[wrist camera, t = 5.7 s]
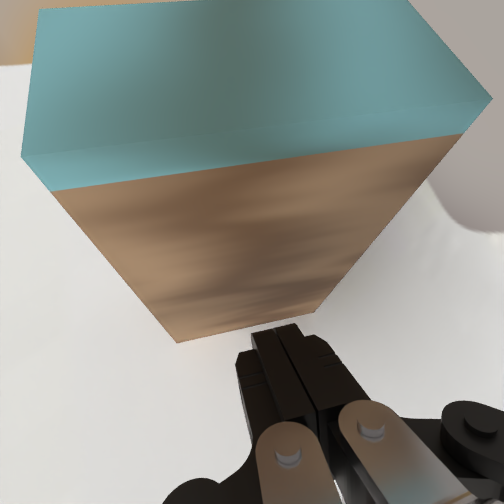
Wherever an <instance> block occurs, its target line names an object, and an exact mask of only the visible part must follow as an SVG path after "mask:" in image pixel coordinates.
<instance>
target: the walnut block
mask: <svg viewBox="0 0 504 504" xmlns="http://www.w3.org/2000/svg"><path fill="white" fill-rule="evenodd" d="M492 99H493V98H492V97H491V96H490V95H489V93H488V92H487V91H486V90H485V89H484V88H483V87H482V85H481V84H480V83H479V82H478V81H477V80H476V78H475V77H474V76H473V75H472V74H471V73H470V72H469V70H468V69H467V68H466V67H465V66H464V65H463V64H462V62H461V61H460V60H459V59H458V58H457V57H456V55H455V54H454V53H453V52H452V51H451V50H450V49H449V47H448V46H447V45H446V44H445V43H444V42H443V41H442V40H441V38H440V37H439V36H438V35H437V34H436V33H435V31H434V30H433V29H432V28H431V27H430V26H429V24H428V23H427V22H426V21H425V20H424V19H423V18H422V16H421V15H420V14H419V13H418V12H417V11H416V10H415V8H414V7H413V6H412V5H411V4H410V3H409V1H408V0H196V1H178V2H162V3H161V2H160V3H143V4H142V3H141V4H123V5H105V6H86V7H68V8H50V9H39V15H38V22H37V30H36V39H35V46H34V55H33V62H32V70H31V78H30V86H29V94H28V103H27V111H26V119H25V127H24V135H23V143H22V151H21V158H22V159H23V160H24V161H25V162H26V164H27V165H28V166H29V167H30V168H31V169H32V171H33V172H34V173H35V174H36V175H37V177H38V178H39V179H40V180H41V181H42V183H43V184H44V185H45V186H46V187H47V189H48V190H49V191H50V192H51V193H52V195H53V196H54V197H55V198H56V199H57V201H58V202H59V203H60V204H61V205H62V207H63V208H64V209H65V210H66V211H67V213H68V214H69V215H70V216H71V217H72V219H73V220H74V221H75V222H76V223H77V225H78V226H79V227H80V228H81V229H82V231H83V232H84V233H85V234H86V235H87V236H88V238H89V239H90V240H91V241H92V242H93V244H94V245H95V246H96V247H97V248H98V250H99V251H100V252H101V253H102V254H103V256H104V257H105V258H106V259H107V260H108V262H109V263H110V264H111V265H112V266H113V268H114V269H115V270H116V271H117V272H118V274H119V275H120V276H121V277H122V278H123V280H124V281H125V282H126V283H127V284H128V286H129V287H130V288H131V289H132V290H133V292H134V293H135V294H136V295H137V296H138V298H139V299H140V300H141V301H142V302H143V304H144V305H145V306H146V307H147V308H148V309H149V311H150V312H151V313H152V314H153V315H154V317H155V318H156V319H157V320H158V321H159V323H160V324H161V325H162V326H163V327H164V329H165V330H166V331H167V332H168V333H169V335H170V336H171V337H172V338H173V339H174V341H175V342H176V343H180V342H185V341H189V340H194V339H198V338H202V337H207V336H211V335H216V334H220V333H224V332H229V331H233V330H238V329H242V328H247V327H251V326H255V325H260V324H264V323H269V322H273V321H277V320H282V319H286V318H291V317H295V316H300V315H304V314H308V313H313V312H315V310H316V309H317V308H318V307H319V306H320V304H321V303H322V302H323V301H324V300H325V298H326V297H327V296H328V295H329V294H330V292H331V291H332V290H333V289H334V288H335V286H336V285H337V284H338V283H339V282H340V280H341V279H342V278H343V277H344V276H345V275H346V273H347V272H348V271H349V270H350V269H351V267H352V266H353V265H354V264H355V263H356V261H357V260H358V259H359V258H360V257H361V255H362V254H363V253H364V252H365V251H366V249H367V248H368V247H369V246H370V245H371V243H372V242H373V241H374V240H375V239H376V238H377V236H378V235H379V234H380V233H381V232H382V230H383V229H384V228H385V227H386V226H387V224H388V223H389V222H390V221H391V220H392V218H393V217H394V216H395V215H396V214H397V212H398V211H399V210H400V209H401V208H402V206H403V205H404V204H405V203H406V202H407V201H408V199H409V198H410V197H411V196H412V195H413V193H414V192H415V191H416V190H417V189H418V187H419V186H420V185H421V184H422V183H423V181H424V180H425V179H426V178H427V176H428V175H429V174H430V173H431V172H432V171H433V169H434V168H435V167H436V166H437V165H438V163H439V162H440V161H441V160H442V159H443V157H444V156H445V155H446V154H447V153H448V151H449V150H450V149H451V148H452V147H453V145H454V144H455V143H456V142H457V141H458V140H459V138H460V137H461V136H462V135H463V134H464V132H465V131H466V130H467V129H468V128H469V127H470V125H471V124H472V123H473V122H474V120H475V119H476V118H477V117H478V116H479V115H480V113H481V112H482V111H483V110H484V109H485V107H486V106H487V105H488V104H489V103H490V101H491V100H492Z"/></svg>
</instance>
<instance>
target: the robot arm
mask: <svg viewBox="0 0 504 504" xmlns="http://www.w3.org/2000/svg"><path fill="white" fill-rule="evenodd" d="M251 341H252V348H253V349H252V350H248V351H244V352H240V353H239V355H238V358H237V361H236V364H235V367H236V372H237V378H238V383H239V389H240V395H241V400H242V405H243V409H244V414H245V418H246V422H247V427H248V431H249V435H250V439H251V444H252V449H251V452H250V454H249V456H248V458H247V460H246V461H245V463H244V464H243V465H242V466H241V467H240V469H239V470H237V471H236V472H235V473H234V474H232V475H231V476H229V477H228V478H227V479H225V480H224V481H222V482H221V483H220V484H219V483H217V482H215V481H214V480H211V479H207V478H196V479H192V480H189V481H187V482H185V483H183V484H181V485H180V486H178V487H177V488H176V489H174V490H173V491H172V492H171V493H170V494H169V495H168V497H167V498H166V499H165V501H164V502H163V504H504V411H501V410H498V409H495V408H492V407H490V406H487V405H484V404H481V403H477V402H472V401H455V402H452V403H449V404H448V405H446V406H445V408H444V409H443V411H442V416H441V419H410V418H403V417H399V416H398V415H397V414H396V413H395V412H394V411H393V410H392V409H390V408H389V407H387V406H385V405H384V404H381V403H379V402H376V401H372V400H371V399H370V398H369V397H368V395H367V394H366V393H365V391H364V390H363V389H362V387H361V386H360V385H359V383H358V382H357V381H356V380H355V378H354V377H353V376H352V374H351V373H350V372H349V370H348V369H347V368H346V366H345V365H344V364H342V361H341V360H340V359H339V357H338V356H337V355H335V352H334V351H333V349H332V348H331V347H330V346H329V344H328V343H327V342H326V341H324V340H323V339H321V338H319V337H318V336H316V335H310V336H305V337H304V335H303V334H302V332H301V331H300V329H299V328H298V326H297V325H296V324H295V323H293V324H289V325H285V326H280V327H276V328H273V329H268V330H264V331H259V332H255V333H251ZM334 480H336V482H337V485H338V487H339V489H340V491H341V493H342V501H341V499H340V496H339V493H338V491H337V488H336V486H335V483H334Z"/></svg>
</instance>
